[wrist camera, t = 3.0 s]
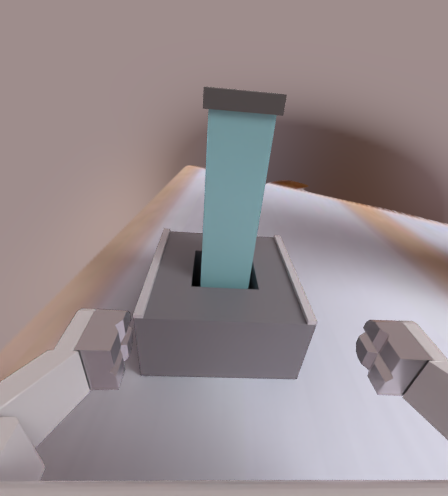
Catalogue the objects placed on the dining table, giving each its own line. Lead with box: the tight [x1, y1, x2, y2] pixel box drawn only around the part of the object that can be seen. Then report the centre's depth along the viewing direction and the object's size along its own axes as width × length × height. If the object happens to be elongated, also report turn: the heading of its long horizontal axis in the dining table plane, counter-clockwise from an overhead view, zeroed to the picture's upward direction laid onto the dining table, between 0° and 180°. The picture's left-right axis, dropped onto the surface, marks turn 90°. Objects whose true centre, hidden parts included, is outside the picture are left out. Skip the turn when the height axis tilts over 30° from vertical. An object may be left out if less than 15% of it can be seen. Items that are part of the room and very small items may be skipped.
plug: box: [200, 87, 286, 289], centre depth 21 cm, size 4×4×18 cm
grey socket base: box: [133, 229, 317, 379], centre depth 24 cm, size 12×12×6 cm
